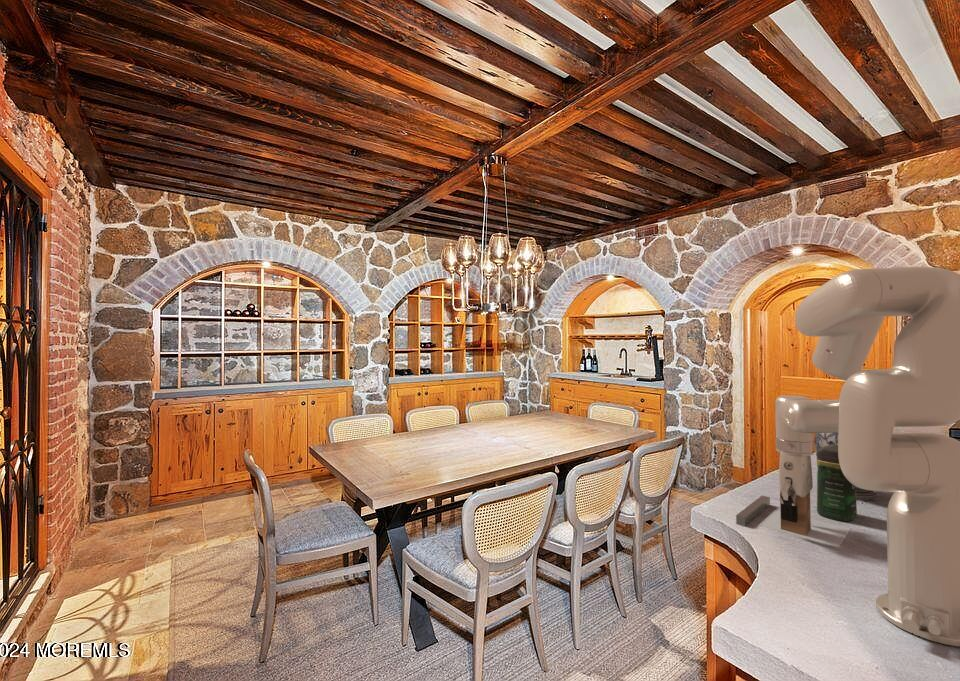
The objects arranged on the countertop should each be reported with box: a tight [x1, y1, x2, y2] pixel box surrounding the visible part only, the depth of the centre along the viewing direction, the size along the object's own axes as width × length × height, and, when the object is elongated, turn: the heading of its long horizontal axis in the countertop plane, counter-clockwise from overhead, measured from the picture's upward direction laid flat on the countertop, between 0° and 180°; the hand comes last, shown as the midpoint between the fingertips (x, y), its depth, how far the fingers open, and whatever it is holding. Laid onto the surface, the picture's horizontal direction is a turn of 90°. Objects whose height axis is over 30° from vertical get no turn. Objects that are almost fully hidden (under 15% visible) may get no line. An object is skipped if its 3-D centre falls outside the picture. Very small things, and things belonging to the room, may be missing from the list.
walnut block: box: [779, 490, 812, 536], centre depth 107 cm, size 5×5×10 cm
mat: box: [758, 509, 852, 548], centre depth 108 cm, size 14×16×1 cm
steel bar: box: [735, 495, 771, 527], centre depth 117 cm, size 20×2×2 cm, turn 131°
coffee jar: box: [816, 444, 858, 523], centre depth 115 cm, size 10×8×19 cm
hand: (794, 514), depth 107 cm, fingers open, 9 cm apart
